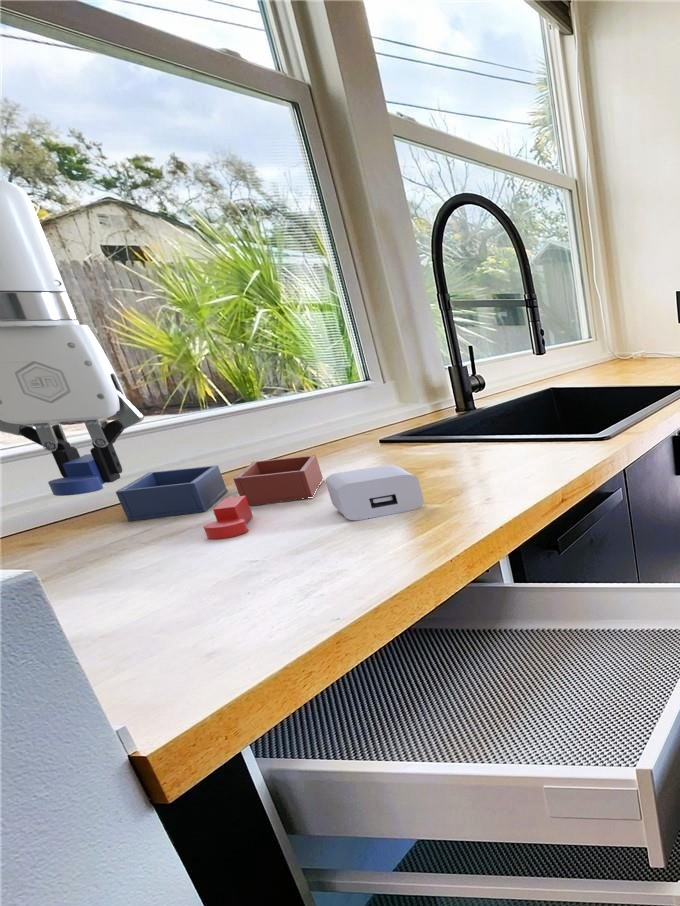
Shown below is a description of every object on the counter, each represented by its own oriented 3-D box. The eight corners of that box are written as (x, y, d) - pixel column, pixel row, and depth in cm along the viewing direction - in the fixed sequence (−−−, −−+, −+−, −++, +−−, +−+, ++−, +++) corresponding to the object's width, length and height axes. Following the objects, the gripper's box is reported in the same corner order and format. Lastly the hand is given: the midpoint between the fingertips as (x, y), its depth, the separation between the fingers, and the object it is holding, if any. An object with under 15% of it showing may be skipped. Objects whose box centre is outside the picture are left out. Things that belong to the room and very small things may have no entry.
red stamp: (244, 535, 83) (236, 513, 82) (203, 541, 82) (194, 518, 80) (261, 515, 92) (253, 494, 90) (224, 519, 90) (216, 499, 89)
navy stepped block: (95, 492, 76) (84, 467, 75) (46, 497, 74) (35, 471, 73) (128, 474, 84) (119, 451, 83) (85, 478, 83) (75, 455, 82)
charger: (397, 489, 103) (425, 507, 92) (325, 501, 97) (347, 522, 87) (389, 457, 101) (416, 472, 90) (315, 468, 95) (335, 485, 85)
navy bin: (128, 521, 91) (115, 491, 89) (159, 499, 102) (148, 472, 100) (205, 511, 94) (194, 482, 93) (227, 491, 105) (218, 465, 103)
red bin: (243, 506, 96) (233, 478, 94) (261, 487, 107) (252, 461, 105) (312, 498, 99) (304, 470, 98) (323, 480, 110) (315, 455, 108)
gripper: (-104, 312, 67) (-14, 497, 74) (110, 310, 74) (173, 480, 81) (-60, 312, 73) (19, 483, 81) (134, 310, 80) (191, 468, 87)
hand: (96, 480), depth 81 cm, fingers closed on navy stepped block, 2 cm apart
